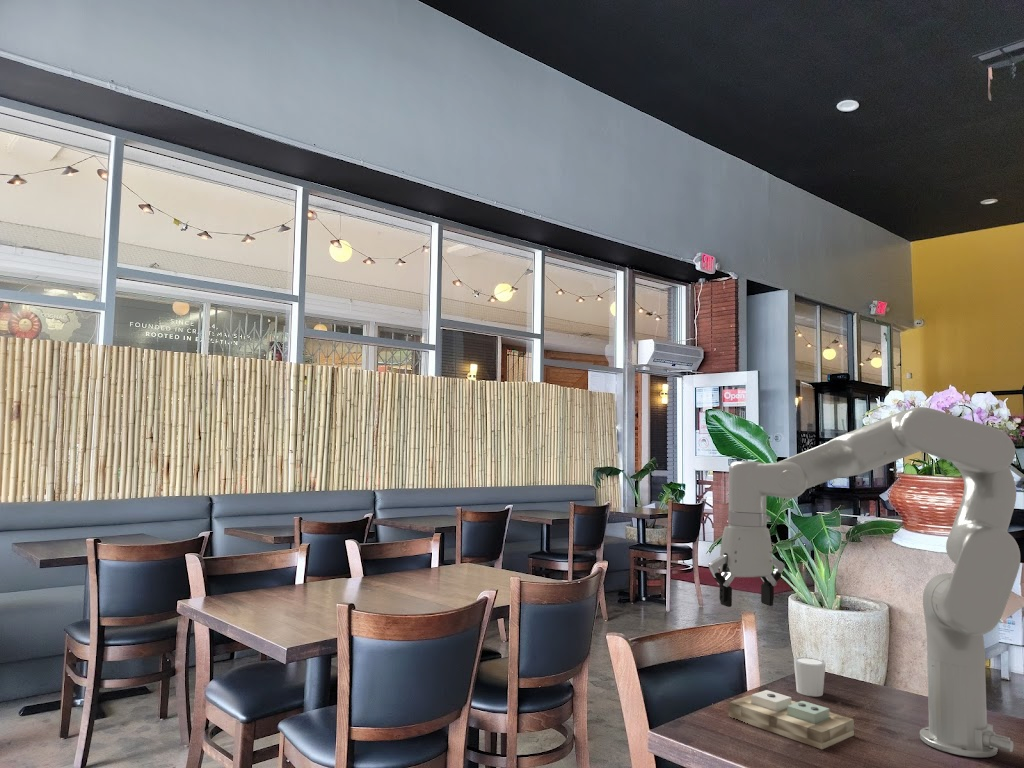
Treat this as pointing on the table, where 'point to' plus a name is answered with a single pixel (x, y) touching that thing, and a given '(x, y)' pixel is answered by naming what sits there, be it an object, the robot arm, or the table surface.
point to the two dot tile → (808, 712)
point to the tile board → (793, 724)
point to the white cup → (809, 676)
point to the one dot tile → (770, 700)
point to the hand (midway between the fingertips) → (746, 605)
